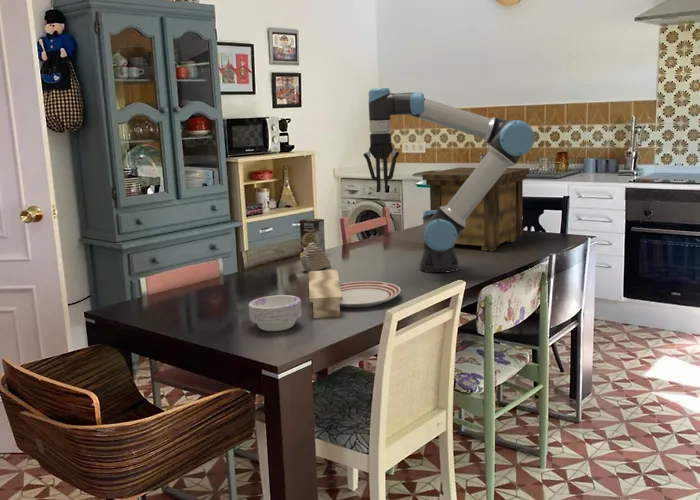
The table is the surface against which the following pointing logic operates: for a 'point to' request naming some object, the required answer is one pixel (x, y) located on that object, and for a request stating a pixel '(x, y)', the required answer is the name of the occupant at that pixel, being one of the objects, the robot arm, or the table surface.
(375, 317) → the table surface
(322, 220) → the coffee box
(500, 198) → the crate
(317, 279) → the long wooden block
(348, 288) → the dinner plate
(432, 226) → the robot arm
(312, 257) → the fossil tooth
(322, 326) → the table surface
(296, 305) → the paper bowls
